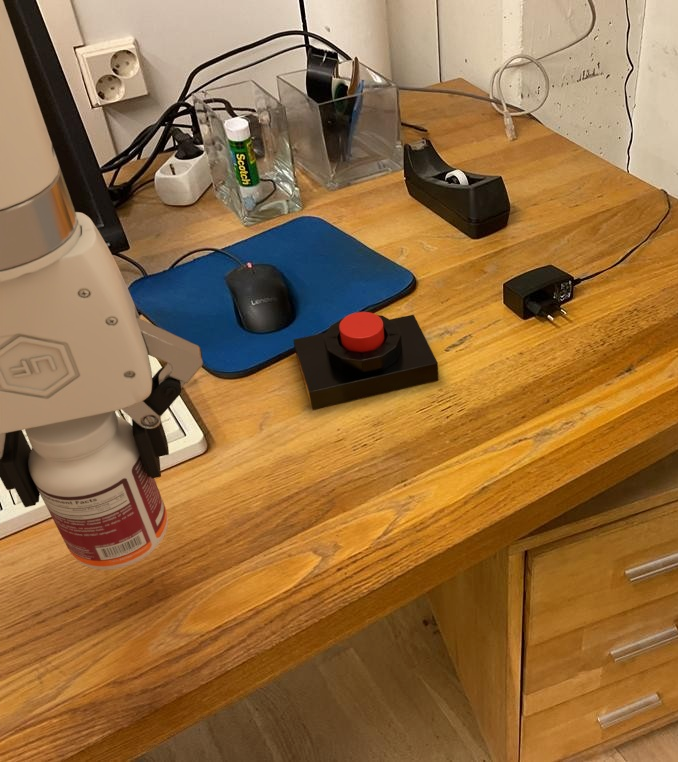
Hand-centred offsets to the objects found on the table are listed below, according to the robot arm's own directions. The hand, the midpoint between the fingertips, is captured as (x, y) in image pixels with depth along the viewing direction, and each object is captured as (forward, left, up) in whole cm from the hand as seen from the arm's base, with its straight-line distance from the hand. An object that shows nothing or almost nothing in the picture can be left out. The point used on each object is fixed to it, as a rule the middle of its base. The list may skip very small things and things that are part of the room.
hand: (94, 473), depth 50 cm
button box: (+21, +20, -13) cm, 31 cm away
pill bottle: (0, 0, -6) cm, 6 cm away
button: (+21, +20, -10) cm, 30 cm away
